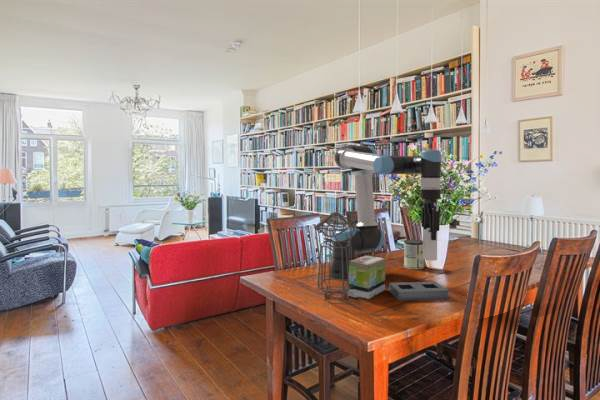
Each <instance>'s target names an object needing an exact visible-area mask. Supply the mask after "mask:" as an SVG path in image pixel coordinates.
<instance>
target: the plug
mask: <svg viewBox="0 0 600 400" xmlns="http://www.w3.org/2000/svg"><path fill="white" fill-rule="evenodd" d="M429 230H430V228H427V229H423V228H422V241H423V259H424V260H425V261H427V262H429V261H431V262H432V261H438V231H437V232H436V248H429V232H428V231H429Z"/></svg>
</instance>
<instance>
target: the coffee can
mask: <svg viewBox="0 0 600 400" xmlns="http://www.w3.org/2000/svg"><path fill="white" fill-rule="evenodd" d="M403 244H404V245H403V246H404V247H403V253H404V254H403V257H404V258H403V267H404V268H406V269H410V270H422V269H424V266H425V263H424V262H425V261H424V260H425V259H423V239H422V240H421V239H410V238H409V239H404V240H403Z"/></svg>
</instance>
